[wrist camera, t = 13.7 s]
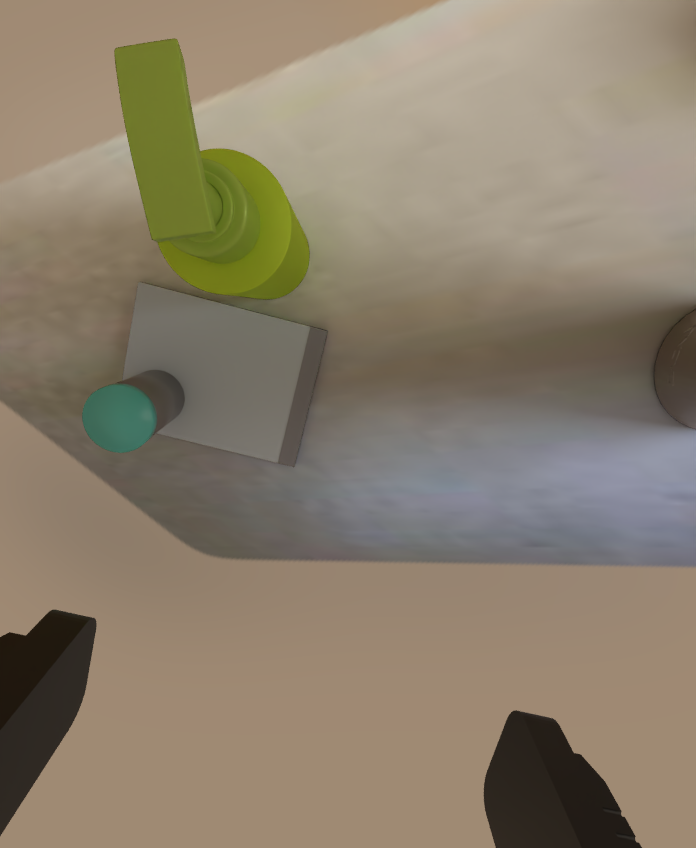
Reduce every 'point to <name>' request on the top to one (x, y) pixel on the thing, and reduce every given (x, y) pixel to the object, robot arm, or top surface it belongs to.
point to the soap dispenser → (204, 188)
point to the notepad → (228, 371)
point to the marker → (132, 410)
